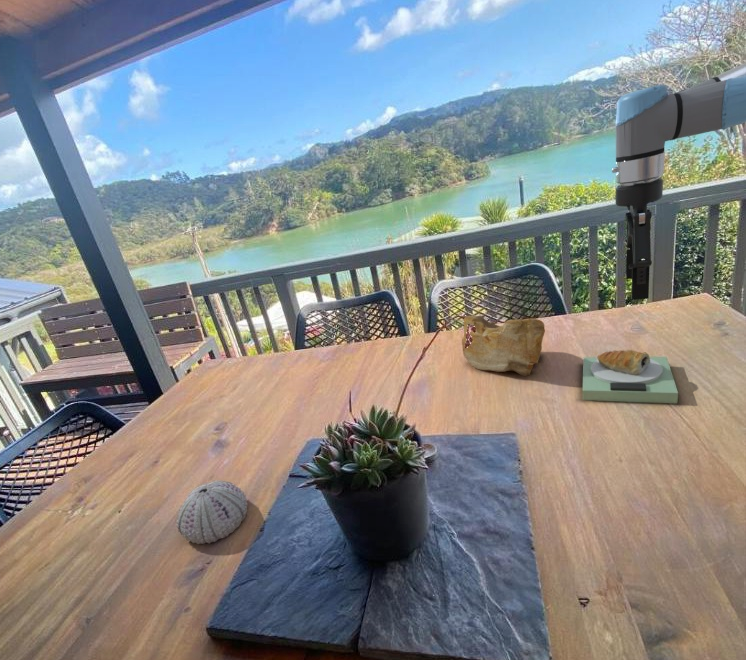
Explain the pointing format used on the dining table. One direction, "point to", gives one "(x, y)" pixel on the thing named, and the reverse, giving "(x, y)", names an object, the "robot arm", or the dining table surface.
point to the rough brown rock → (504, 344)
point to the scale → (629, 383)
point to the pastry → (625, 361)
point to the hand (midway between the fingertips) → (636, 288)
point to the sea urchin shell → (211, 512)
